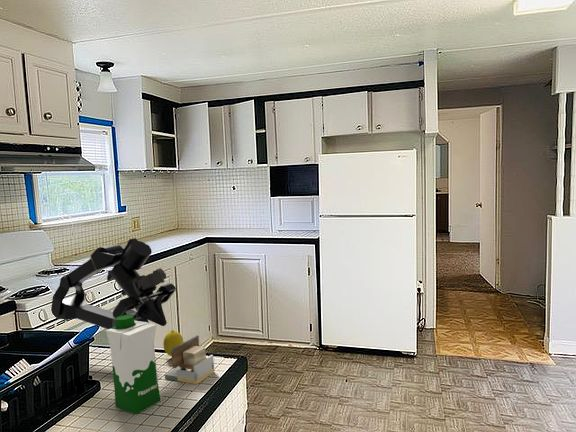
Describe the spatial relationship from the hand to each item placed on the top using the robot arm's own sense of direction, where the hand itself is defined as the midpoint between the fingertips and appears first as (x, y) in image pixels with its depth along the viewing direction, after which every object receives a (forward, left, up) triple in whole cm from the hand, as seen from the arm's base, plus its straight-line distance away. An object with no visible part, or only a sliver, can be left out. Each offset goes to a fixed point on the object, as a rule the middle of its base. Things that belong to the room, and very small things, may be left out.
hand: (165, 324), depth 118 cm
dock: (+7, -1, -13) cm, 14 cm away
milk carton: (+2, -17, -13) cm, 22 cm away
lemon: (-3, +9, -13) cm, 16 cm away
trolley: (+8, -2, -11) cm, 14 cm away
